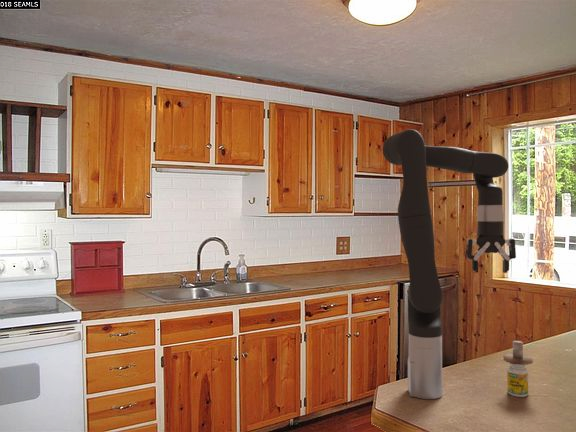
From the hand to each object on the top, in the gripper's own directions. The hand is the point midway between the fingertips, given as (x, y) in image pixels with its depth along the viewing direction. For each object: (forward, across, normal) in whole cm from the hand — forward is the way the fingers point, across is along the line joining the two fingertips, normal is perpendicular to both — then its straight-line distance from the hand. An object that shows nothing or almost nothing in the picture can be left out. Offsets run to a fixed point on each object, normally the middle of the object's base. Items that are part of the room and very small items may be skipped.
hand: (490, 272), depth 156 cm
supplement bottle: (+33, +4, -12) cm, 36 cm away
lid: (+24, +4, -12) cm, 27 cm away
